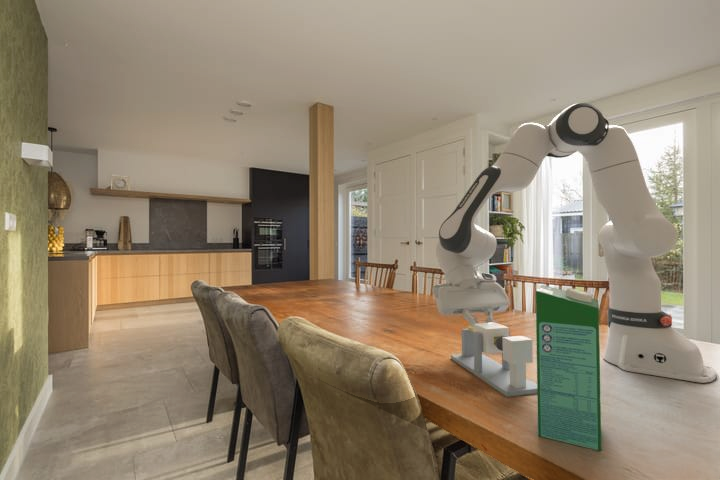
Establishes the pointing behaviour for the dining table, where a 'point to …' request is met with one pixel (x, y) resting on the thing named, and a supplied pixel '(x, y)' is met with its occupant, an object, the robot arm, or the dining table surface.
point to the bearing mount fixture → (499, 376)
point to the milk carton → (568, 366)
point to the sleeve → (490, 335)
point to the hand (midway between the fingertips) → (483, 325)
